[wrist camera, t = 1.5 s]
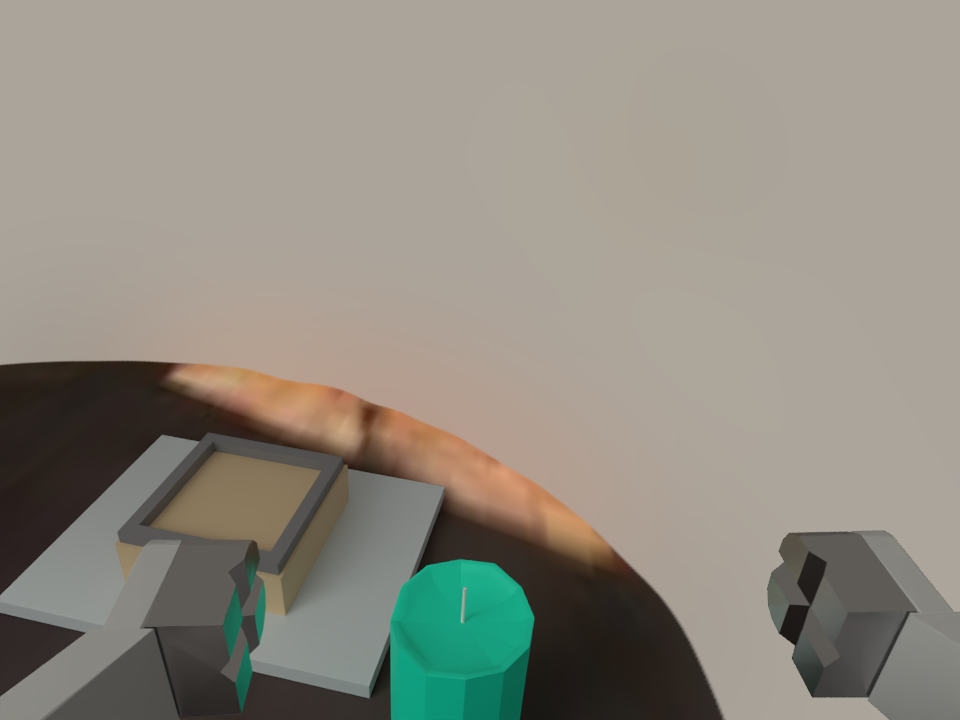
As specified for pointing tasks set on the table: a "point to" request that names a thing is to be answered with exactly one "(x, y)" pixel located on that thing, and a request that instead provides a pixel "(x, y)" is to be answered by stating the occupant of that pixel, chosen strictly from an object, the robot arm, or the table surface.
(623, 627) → the table surface
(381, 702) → the table surface
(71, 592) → the board
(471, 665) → the candle
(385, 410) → the table surface
